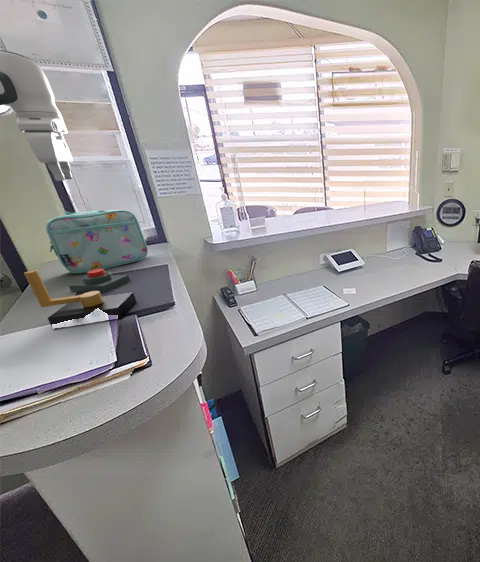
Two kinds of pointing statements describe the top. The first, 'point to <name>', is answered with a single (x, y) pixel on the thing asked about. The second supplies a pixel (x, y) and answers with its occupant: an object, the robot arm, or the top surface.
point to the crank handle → (45, 299)
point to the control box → (99, 283)
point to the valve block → (110, 305)
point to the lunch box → (96, 239)
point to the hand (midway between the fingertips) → (65, 179)
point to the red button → (96, 273)
